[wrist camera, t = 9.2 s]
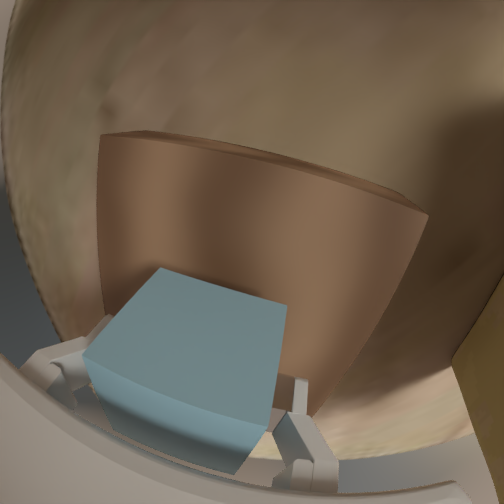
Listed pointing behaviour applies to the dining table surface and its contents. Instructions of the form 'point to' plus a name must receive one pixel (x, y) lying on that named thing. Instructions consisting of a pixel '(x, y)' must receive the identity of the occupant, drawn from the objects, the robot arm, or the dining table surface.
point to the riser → (256, 239)
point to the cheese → (486, 383)
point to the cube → (190, 369)
